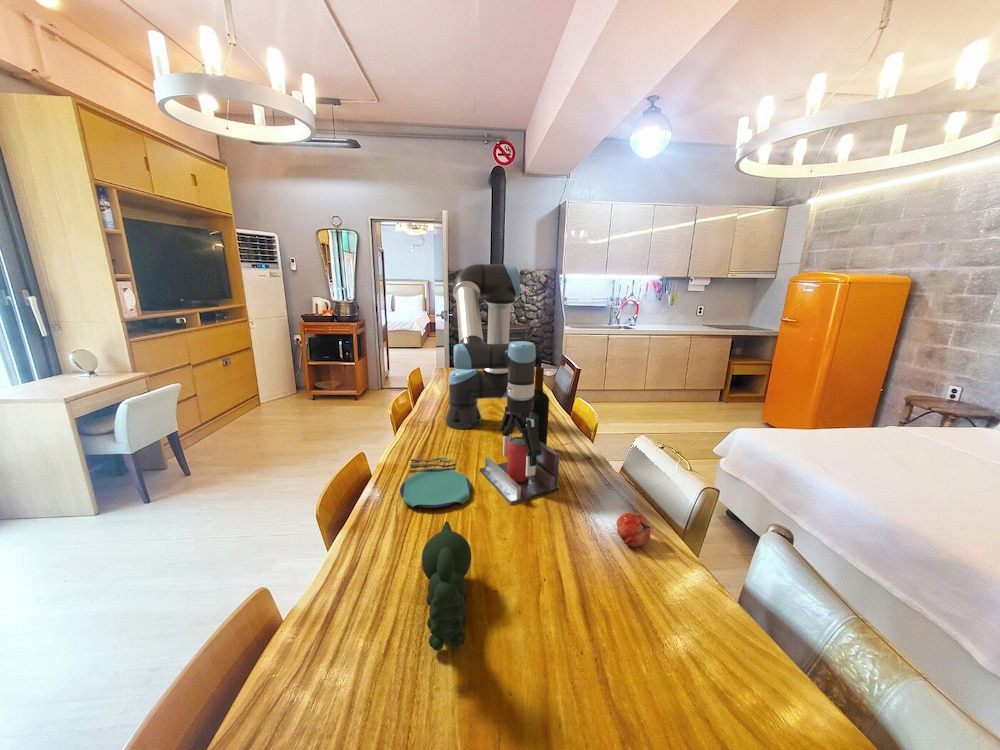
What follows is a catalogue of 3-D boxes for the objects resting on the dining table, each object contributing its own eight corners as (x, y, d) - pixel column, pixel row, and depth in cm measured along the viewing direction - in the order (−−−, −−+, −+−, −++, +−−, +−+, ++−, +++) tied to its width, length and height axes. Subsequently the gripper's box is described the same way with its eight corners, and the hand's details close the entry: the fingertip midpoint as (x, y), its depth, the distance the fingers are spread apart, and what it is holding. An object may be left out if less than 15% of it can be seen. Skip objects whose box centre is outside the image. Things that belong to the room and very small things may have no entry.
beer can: (504, 481, 109) (505, 444, 106) (508, 470, 115) (509, 435, 112) (527, 484, 107) (528, 446, 104) (530, 473, 114) (531, 437, 111)
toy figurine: (478, 674, 58) (468, 550, 81) (479, 582, 52) (469, 477, 75) (416, 682, 56) (425, 554, 80) (410, 588, 50) (421, 479, 74)
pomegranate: (609, 550, 86) (639, 549, 78) (601, 516, 89) (629, 512, 81) (634, 544, 89) (665, 543, 81) (625, 512, 92) (654, 508, 84)
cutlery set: (396, 516, 94) (396, 508, 93) (404, 462, 122) (404, 456, 122) (475, 510, 97) (475, 502, 97) (464, 459, 126) (464, 453, 125)
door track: (479, 471, 116) (479, 438, 114) (523, 461, 123) (524, 430, 121) (510, 504, 99) (511, 467, 96) (559, 490, 106) (561, 455, 104)
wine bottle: (547, 455, 128) (553, 371, 120) (526, 455, 128) (529, 371, 120) (544, 445, 135) (549, 366, 128) (523, 445, 135) (527, 365, 127)
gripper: (489, 386, 114) (488, 450, 119) (532, 411, 92) (529, 488, 98) (510, 384, 117) (509, 446, 122) (557, 407, 96) (553, 481, 101)
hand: (518, 464), depth 110 cm, fingers open, 13 cm apart
